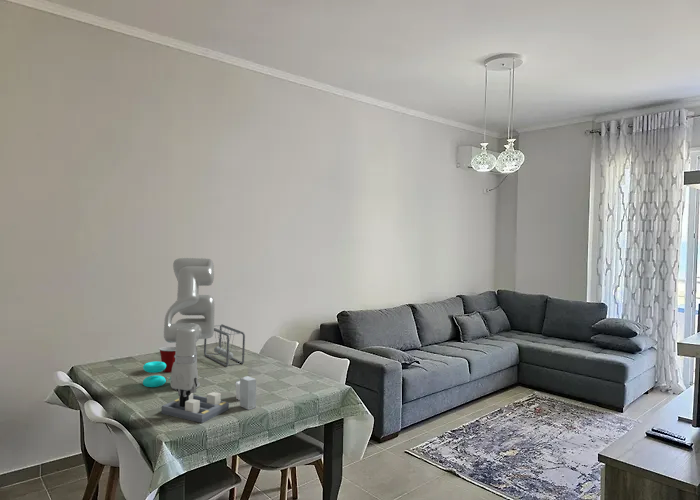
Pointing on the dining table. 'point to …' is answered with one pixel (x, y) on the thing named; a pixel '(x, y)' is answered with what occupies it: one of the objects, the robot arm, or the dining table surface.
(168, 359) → the plastic cup
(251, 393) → the skincare box
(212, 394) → the tab inner
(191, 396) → the tab middle
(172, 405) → the switch bank
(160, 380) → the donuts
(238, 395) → the grey cylinder
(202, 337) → the robot arm
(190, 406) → the white cube
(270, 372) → the dining table surface
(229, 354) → the newton's cradle
